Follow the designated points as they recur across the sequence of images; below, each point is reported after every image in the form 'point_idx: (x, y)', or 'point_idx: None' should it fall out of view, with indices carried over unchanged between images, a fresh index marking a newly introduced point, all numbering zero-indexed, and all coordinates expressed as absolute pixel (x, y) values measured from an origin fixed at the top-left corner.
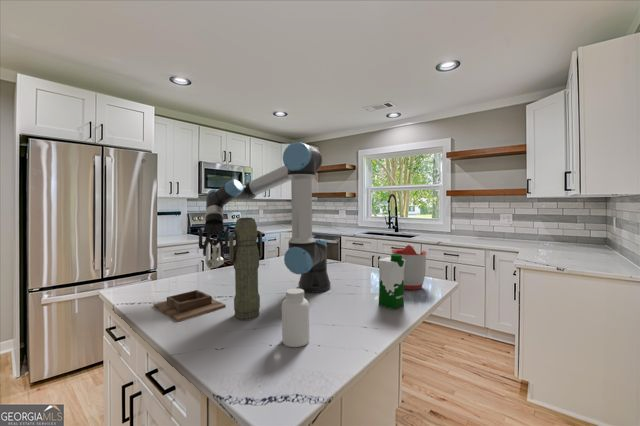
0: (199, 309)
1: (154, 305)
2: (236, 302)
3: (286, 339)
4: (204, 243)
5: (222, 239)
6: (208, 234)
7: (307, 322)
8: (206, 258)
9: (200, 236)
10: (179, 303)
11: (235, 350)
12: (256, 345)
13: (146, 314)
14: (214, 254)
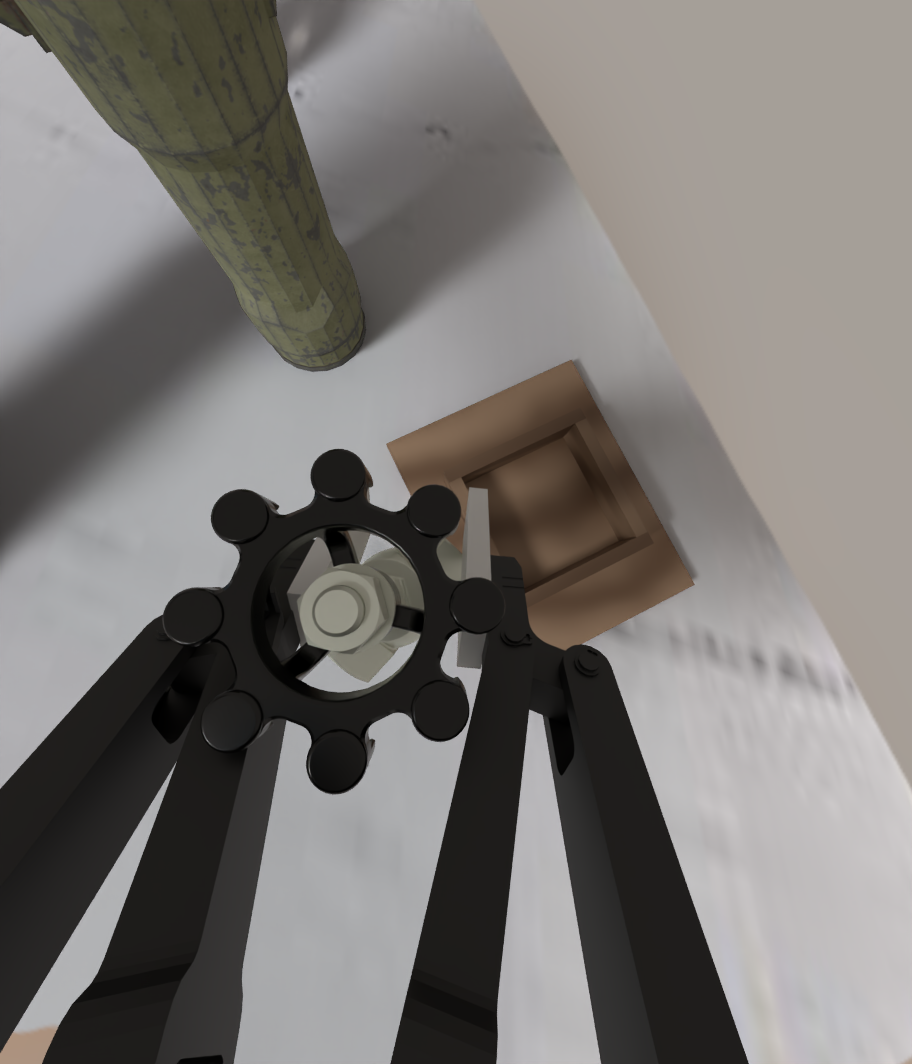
0: (494, 429)
1: (685, 573)
2: (345, 255)
3: None
4: (524, 675)
5: (190, 590)
6: (458, 964)
7: None
8: (479, 499)
9: (652, 888)
10: (584, 423)
11: (397, 105)
12: (337, 107)
13: (694, 494)
14: (394, 568)
